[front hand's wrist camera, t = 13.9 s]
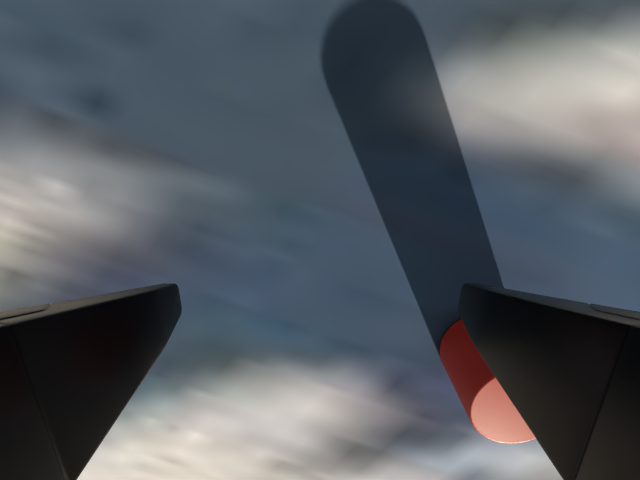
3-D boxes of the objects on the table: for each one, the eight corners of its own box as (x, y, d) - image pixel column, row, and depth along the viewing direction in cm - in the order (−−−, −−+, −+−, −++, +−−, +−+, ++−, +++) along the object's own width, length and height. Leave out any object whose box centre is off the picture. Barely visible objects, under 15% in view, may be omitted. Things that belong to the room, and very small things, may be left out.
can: (530, 317, 20) (587, 373, 16) (504, 381, 22) (549, 448, 18) (450, 307, 20) (486, 361, 16) (430, 373, 22) (458, 439, 18)
